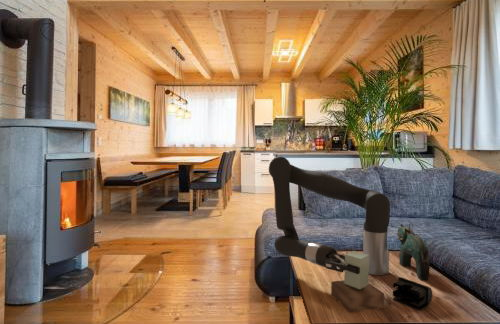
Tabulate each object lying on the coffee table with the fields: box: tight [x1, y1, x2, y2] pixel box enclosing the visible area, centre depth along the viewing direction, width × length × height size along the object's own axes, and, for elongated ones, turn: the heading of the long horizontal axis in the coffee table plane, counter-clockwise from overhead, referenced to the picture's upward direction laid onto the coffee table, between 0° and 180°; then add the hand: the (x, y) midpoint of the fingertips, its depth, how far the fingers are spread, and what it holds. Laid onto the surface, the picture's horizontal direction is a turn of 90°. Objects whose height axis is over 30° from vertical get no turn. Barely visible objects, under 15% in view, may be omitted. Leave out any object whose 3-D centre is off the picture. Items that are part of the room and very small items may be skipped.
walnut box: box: [330, 279, 385, 313], centre depth 103 cm, size 12×12×5 cm
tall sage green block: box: [344, 250, 370, 289], centre depth 103 cm, size 6×6×10 cm
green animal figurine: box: [396, 222, 431, 282], centre depth 128 cm, size 20×6×20 cm, turn 178°
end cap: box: [392, 276, 433, 312], centre depth 102 cm, size 10×7×7 cm
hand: (363, 268), depth 101 cm, fingers closed on tall sage green block, 5 cm apart
